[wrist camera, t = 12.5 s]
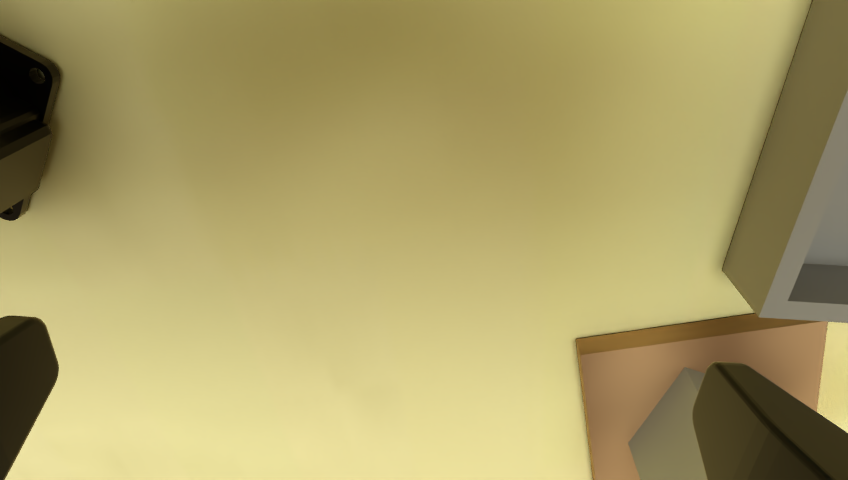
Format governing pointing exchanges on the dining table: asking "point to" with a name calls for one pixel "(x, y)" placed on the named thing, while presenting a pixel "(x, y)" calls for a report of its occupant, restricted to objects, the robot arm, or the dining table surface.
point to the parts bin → (801, 186)
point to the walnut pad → (666, 358)
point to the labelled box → (671, 435)
